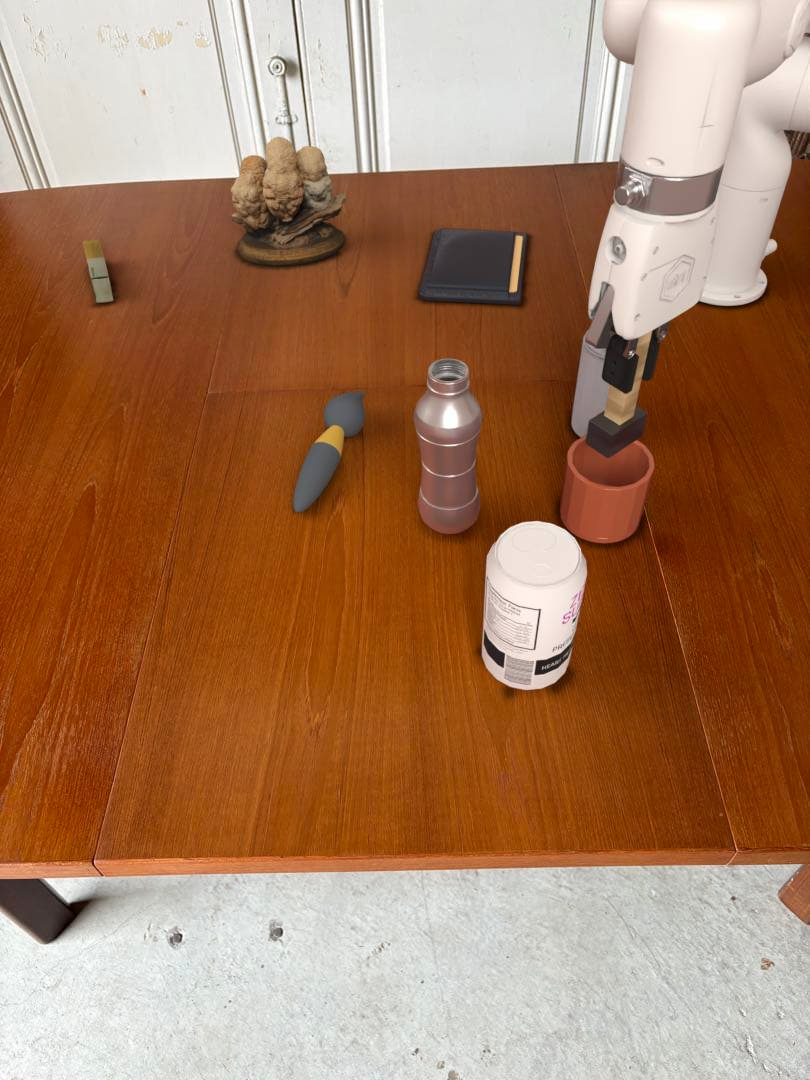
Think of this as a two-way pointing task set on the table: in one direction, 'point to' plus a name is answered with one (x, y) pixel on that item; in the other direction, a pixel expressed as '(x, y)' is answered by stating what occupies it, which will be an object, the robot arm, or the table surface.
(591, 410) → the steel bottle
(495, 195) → the table surface
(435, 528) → the silver aluminum bottle
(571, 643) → the supplement can
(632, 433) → the brush
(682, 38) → the robot arm
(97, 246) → the medication box
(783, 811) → the table surface
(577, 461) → the holder
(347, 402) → the paintbrush
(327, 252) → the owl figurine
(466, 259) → the wallet
